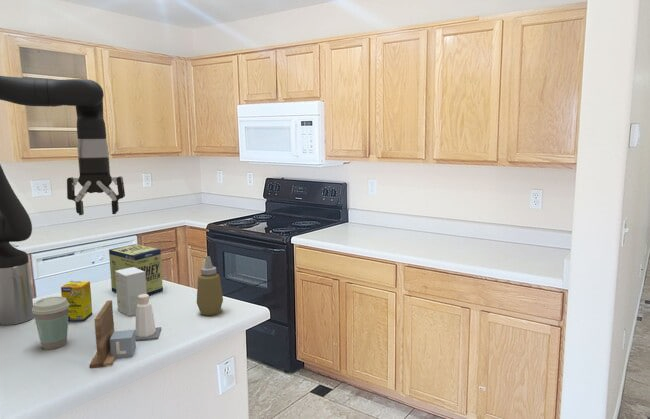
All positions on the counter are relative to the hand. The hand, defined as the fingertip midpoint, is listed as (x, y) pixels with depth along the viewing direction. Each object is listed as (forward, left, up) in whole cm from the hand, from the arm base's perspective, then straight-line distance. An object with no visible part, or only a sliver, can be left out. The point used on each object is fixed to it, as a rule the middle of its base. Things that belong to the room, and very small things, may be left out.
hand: (98, 214), depth 130 cm
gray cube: (+8, -18, -33) cm, 39 cm away
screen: (+4, -18, -33) cm, 38 cm away
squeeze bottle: (+29, +5, -33) cm, 44 cm away
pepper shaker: (+12, -8, -33) cm, 36 cm away
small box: (+5, +12, -33) cm, 36 cm away
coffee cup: (-11, -9, -33) cm, 36 cm away
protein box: (+3, +31, -33) cm, 46 cm away
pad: (+12, -8, -33) cm, 36 cm away
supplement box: (-10, +9, -33) cm, 36 cm away
